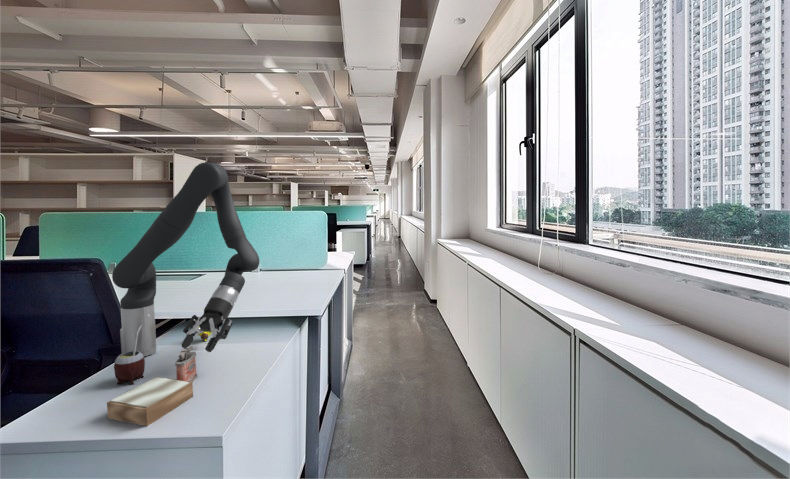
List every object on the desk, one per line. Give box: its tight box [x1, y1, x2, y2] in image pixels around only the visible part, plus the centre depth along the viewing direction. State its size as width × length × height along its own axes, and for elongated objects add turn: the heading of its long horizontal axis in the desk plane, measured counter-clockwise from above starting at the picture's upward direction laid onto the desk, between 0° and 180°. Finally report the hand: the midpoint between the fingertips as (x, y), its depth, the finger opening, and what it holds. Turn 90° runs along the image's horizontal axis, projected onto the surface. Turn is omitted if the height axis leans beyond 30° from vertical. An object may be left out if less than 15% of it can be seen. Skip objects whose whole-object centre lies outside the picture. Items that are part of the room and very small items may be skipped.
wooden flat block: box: [106, 376, 194, 427], centre depth 87 cm, size 12×13×4 cm
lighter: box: [174, 345, 198, 384], centre depth 99 cm, size 8×3×10 cm, turn 4°
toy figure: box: [197, 326, 212, 342], centre depth 131 cm, size 18×6×7 cm, turn 27°
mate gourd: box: [113, 325, 146, 386], centre depth 100 cm, size 8×8×15 cm
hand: (195, 349), depth 102 cm, fingers open, 8 cm apart
